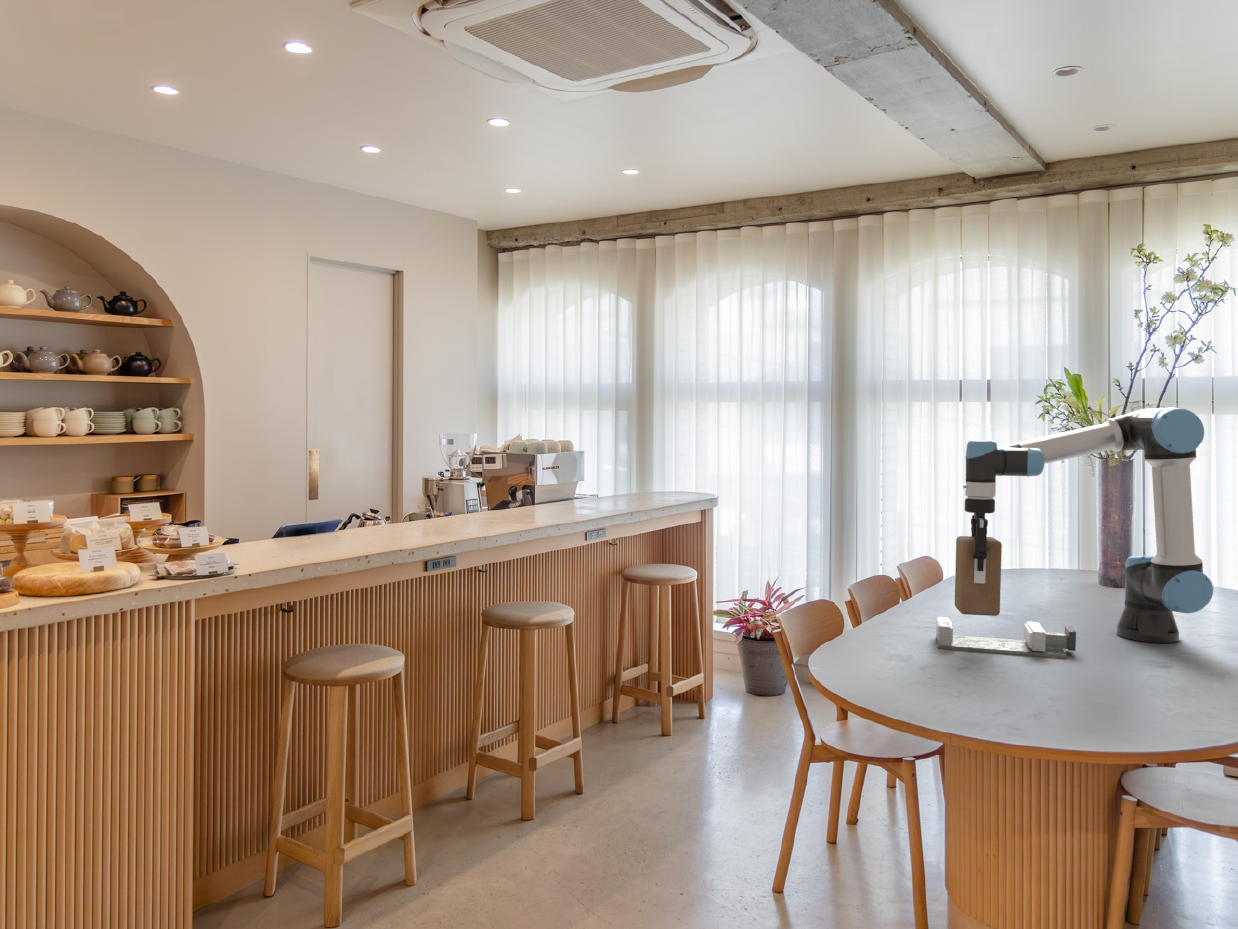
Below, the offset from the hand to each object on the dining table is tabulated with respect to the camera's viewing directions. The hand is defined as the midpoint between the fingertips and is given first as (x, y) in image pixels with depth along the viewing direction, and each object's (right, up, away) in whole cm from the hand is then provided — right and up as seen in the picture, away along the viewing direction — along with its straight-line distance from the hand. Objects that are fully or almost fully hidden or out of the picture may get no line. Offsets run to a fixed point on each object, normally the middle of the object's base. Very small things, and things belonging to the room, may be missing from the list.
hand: (977, 579), depth 235 cm
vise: (+5, -18, -1) cm, 19 cm away
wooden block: (0, -9, 0) cm, 9 cm away
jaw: (+17, -17, -5) cm, 25 cm away
